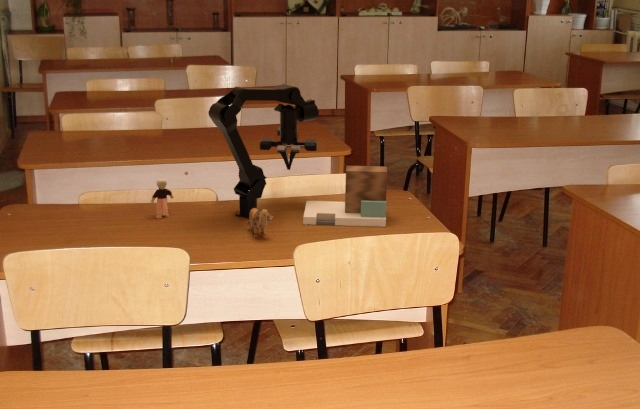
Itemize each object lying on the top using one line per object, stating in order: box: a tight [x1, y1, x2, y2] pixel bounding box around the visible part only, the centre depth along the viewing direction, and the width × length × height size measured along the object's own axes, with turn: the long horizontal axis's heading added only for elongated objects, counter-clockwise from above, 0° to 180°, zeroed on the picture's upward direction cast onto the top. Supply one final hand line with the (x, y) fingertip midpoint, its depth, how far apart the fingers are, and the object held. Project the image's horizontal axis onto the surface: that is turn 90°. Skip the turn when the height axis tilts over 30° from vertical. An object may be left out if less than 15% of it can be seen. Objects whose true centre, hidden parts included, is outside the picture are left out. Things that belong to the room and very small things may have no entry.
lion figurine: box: [247, 207, 274, 238], centre depth 240 cm, size 15×5×9 cm, turn 27°
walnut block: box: [344, 165, 388, 213], centre depth 252 cm, size 13×6×14 cm, turn 87°
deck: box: [302, 200, 388, 228], centre depth 254 cm, size 26×16×8 cm, turn 87°
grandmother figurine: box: [150, 178, 174, 219], centre depth 252 cm, size 8×4×13 cm, turn 137°
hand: (288, 169), depth 262 cm, fingers closed
